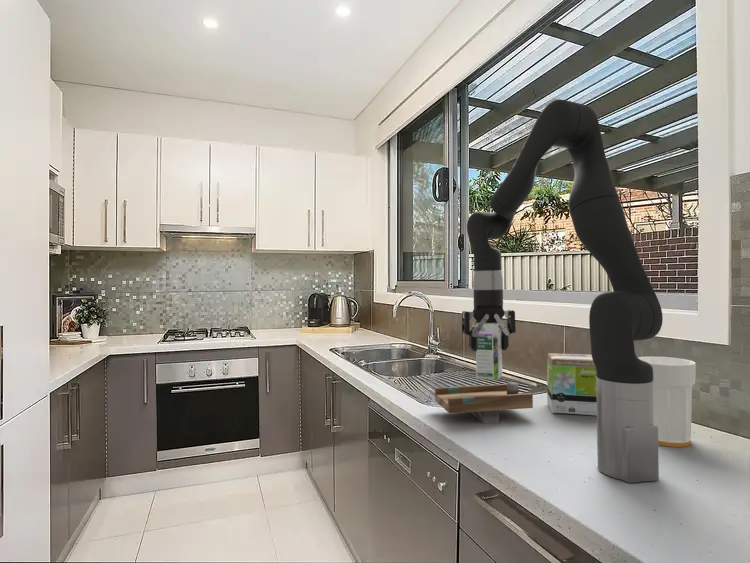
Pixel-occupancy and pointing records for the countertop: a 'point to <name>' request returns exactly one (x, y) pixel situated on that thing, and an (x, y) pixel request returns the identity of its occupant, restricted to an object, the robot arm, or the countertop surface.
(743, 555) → the countertop surface
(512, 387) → the beam
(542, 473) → the countertop surface
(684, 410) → the cup
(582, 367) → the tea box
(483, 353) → the syrup box
